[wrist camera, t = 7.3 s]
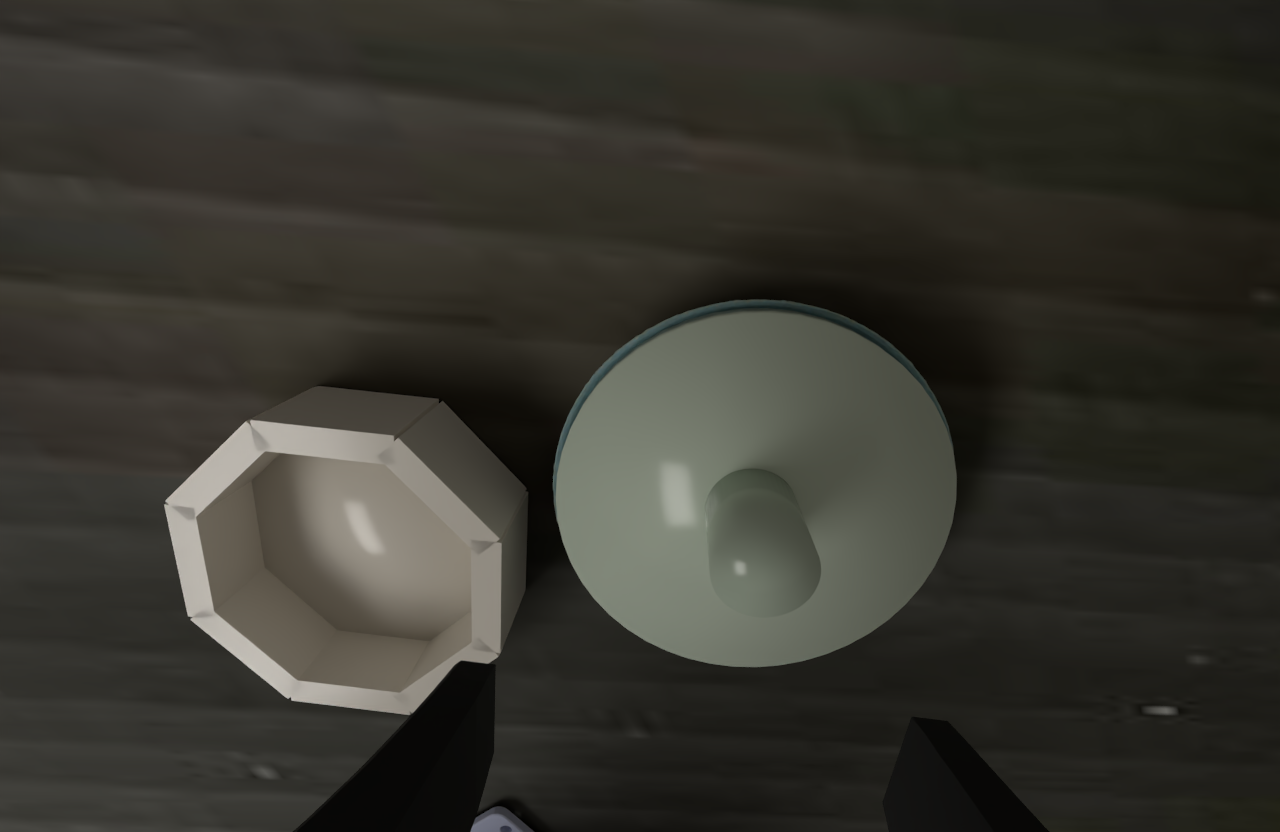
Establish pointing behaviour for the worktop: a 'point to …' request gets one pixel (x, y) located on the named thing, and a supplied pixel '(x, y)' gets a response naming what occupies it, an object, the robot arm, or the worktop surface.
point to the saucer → (725, 307)
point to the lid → (755, 488)
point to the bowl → (353, 547)
